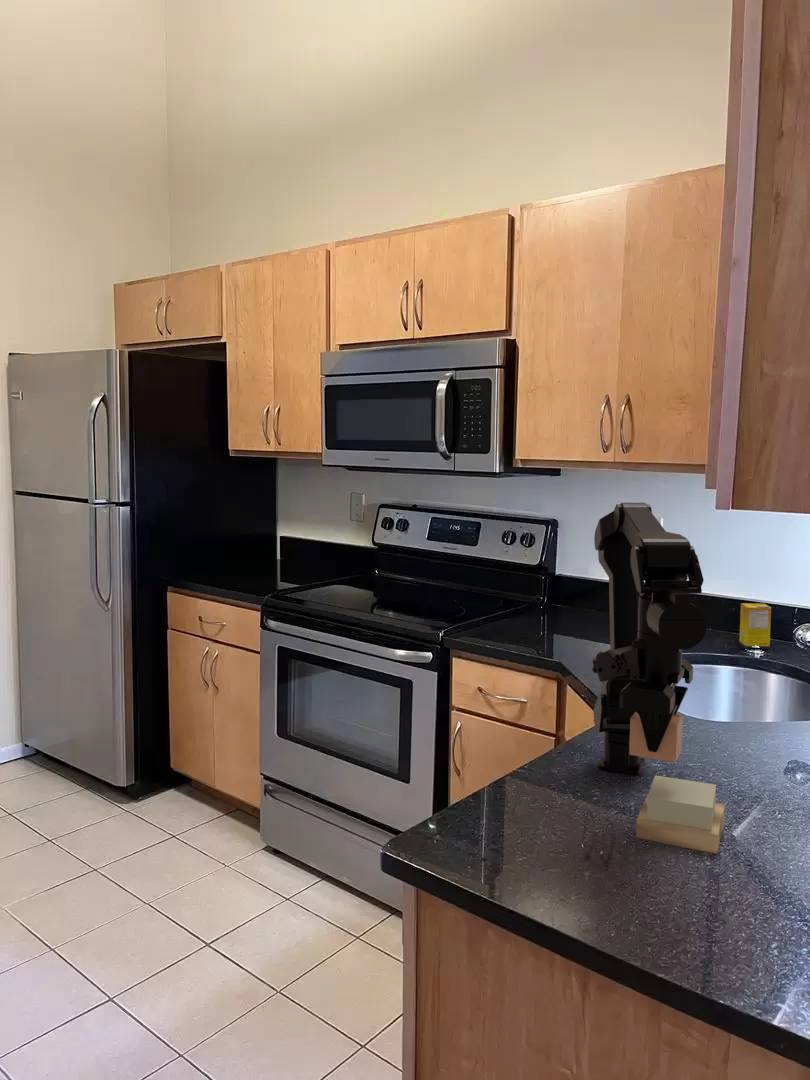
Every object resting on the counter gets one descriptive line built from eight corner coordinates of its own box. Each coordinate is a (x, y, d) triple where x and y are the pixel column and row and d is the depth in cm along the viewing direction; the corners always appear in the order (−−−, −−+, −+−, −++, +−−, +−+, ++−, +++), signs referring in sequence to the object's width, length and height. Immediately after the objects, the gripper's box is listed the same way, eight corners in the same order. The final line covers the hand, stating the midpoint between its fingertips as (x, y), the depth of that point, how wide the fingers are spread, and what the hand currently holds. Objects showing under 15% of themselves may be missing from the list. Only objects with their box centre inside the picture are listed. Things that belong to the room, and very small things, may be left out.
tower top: (654, 795, 115) (655, 775, 115) (715, 805, 112) (716, 784, 111) (646, 819, 108) (647, 797, 107) (711, 830, 104) (712, 807, 104)
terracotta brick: (636, 744, 114) (637, 709, 113) (681, 751, 111) (683, 715, 110) (629, 754, 110) (630, 718, 109) (675, 762, 107) (677, 725, 106)
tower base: (649, 811, 117) (650, 790, 117) (724, 825, 113) (725, 804, 112) (635, 841, 108) (636, 819, 108) (716, 857, 104) (717, 835, 103)
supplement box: (762, 644, 214) (764, 602, 213) (769, 649, 208) (771, 607, 207) (738, 643, 215) (740, 602, 214) (745, 649, 209) (747, 606, 208)
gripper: (616, 613, 121) (613, 717, 122) (580, 639, 104) (577, 758, 106) (695, 621, 115) (691, 728, 117) (671, 649, 99) (666, 773, 101)
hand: (656, 745), depth 110 cm, fingers closed on terracotta brick, 4 cm apart
